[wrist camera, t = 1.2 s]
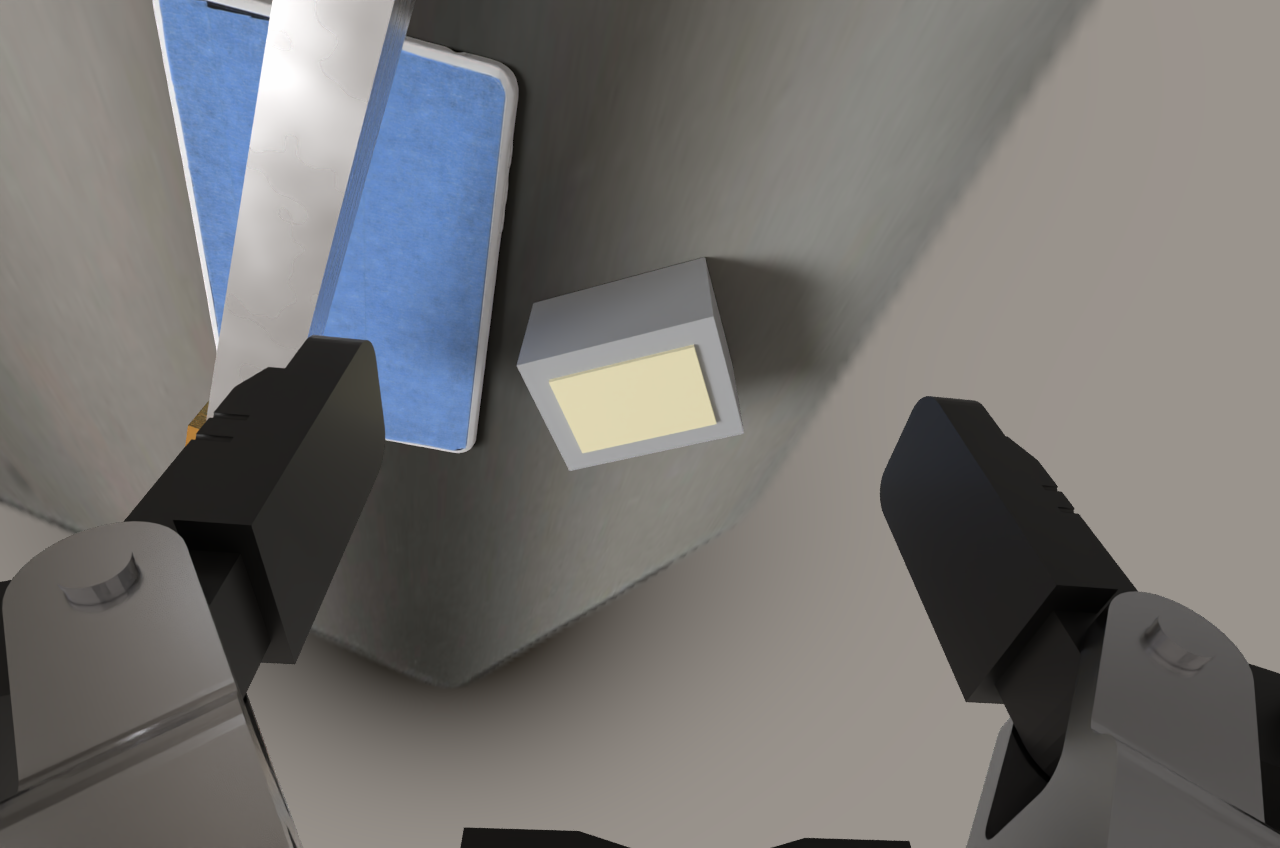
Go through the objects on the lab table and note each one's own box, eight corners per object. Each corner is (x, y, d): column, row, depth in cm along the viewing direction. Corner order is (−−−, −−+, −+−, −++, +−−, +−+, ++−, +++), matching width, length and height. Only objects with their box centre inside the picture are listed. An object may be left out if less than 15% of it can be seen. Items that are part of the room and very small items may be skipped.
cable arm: (354, -404, 13) (289, -465, 10) (529, -276, 14) (505, -306, 12) (213, 429, 26) (171, 483, 24) (307, 462, 27) (276, 516, 25)
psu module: (704, 257, 29) (713, 319, 25) (733, 366, 33) (744, 436, 29) (533, 303, 30) (515, 368, 26) (578, 403, 34) (569, 473, 30)
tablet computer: (160, -36, 23) (137, -32, 22) (525, 63, 25) (520, 71, 24) (236, 398, 35) (223, 414, 34) (478, 444, 37) (473, 460, 36)
